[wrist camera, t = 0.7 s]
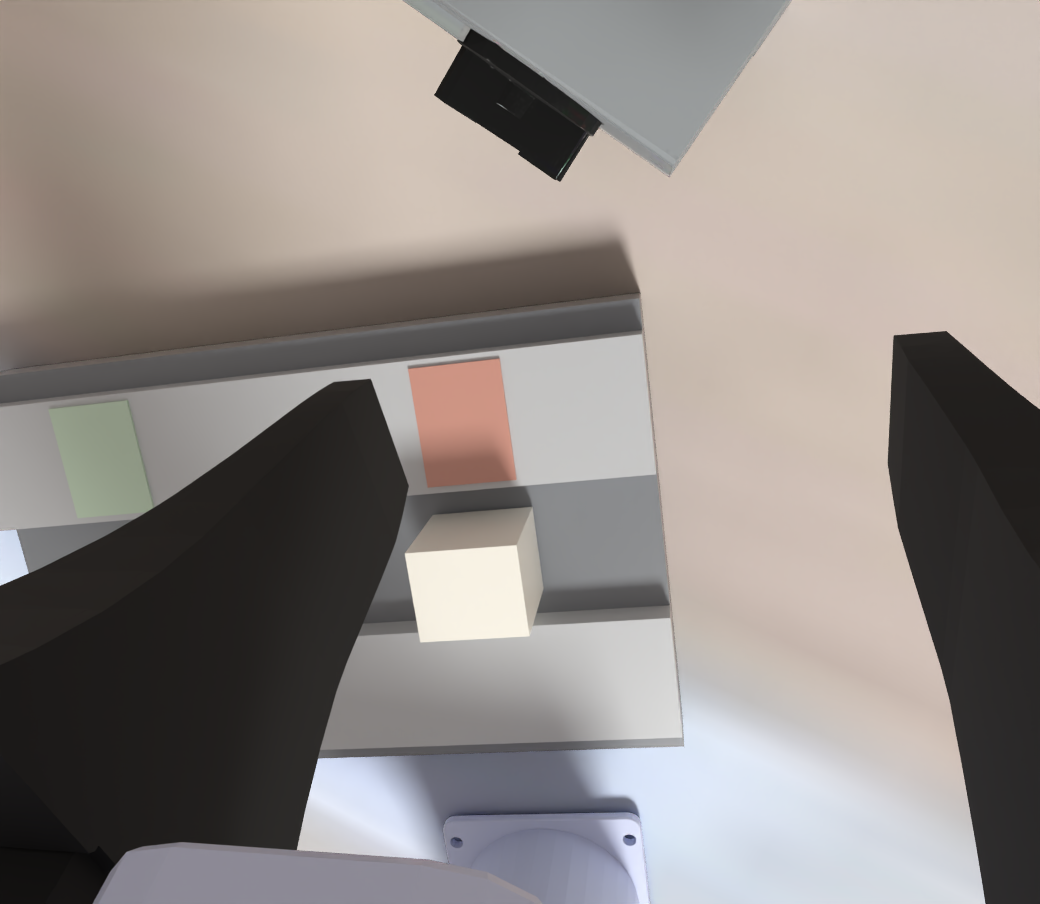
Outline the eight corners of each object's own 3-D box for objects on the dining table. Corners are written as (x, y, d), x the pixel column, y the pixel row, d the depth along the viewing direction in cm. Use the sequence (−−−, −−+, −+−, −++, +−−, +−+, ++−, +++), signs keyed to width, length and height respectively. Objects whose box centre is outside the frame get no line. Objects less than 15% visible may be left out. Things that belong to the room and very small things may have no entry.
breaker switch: (543, 588, 31) (529, 636, 27) (446, 594, 31) (420, 642, 28) (532, 506, 30) (516, 545, 27) (432, 514, 31) (404, 553, 27)
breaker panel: (682, 715, 34) (685, 764, 31) (113, 737, 38) (67, 782, 35) (640, 292, 30) (638, 301, 27) (11, 369, 34) (-50, 384, 31)
